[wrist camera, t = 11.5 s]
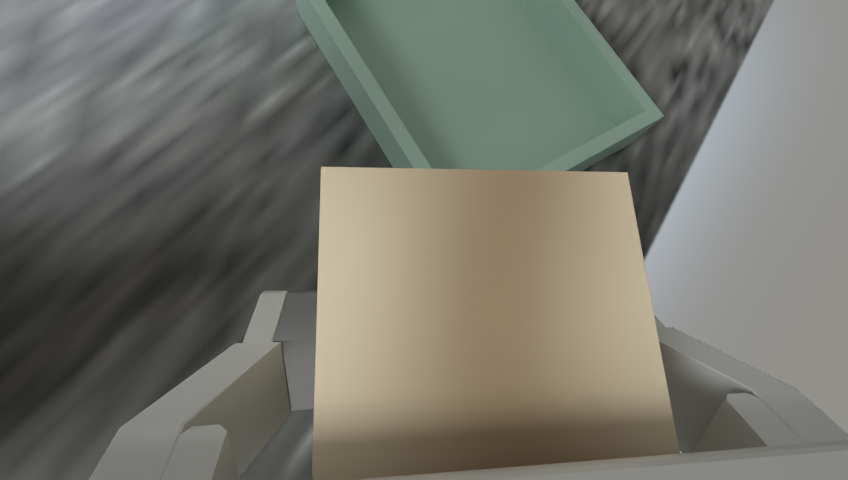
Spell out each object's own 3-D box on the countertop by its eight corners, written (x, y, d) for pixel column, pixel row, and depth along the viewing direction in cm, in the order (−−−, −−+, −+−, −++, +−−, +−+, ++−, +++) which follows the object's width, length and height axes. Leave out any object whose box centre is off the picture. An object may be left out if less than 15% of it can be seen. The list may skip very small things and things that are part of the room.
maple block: (345, 434, 13) (309, 551, 5) (347, 271, 14) (320, 166, 6) (506, 424, 13) (691, 512, 6) (492, 269, 15) (627, 173, 7)
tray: (298, 14, 33) (289, -31, 29) (484, -53, 37) (496, -100, 34) (443, 249, 29) (454, 232, 25) (630, 143, 34) (664, 115, 30)
